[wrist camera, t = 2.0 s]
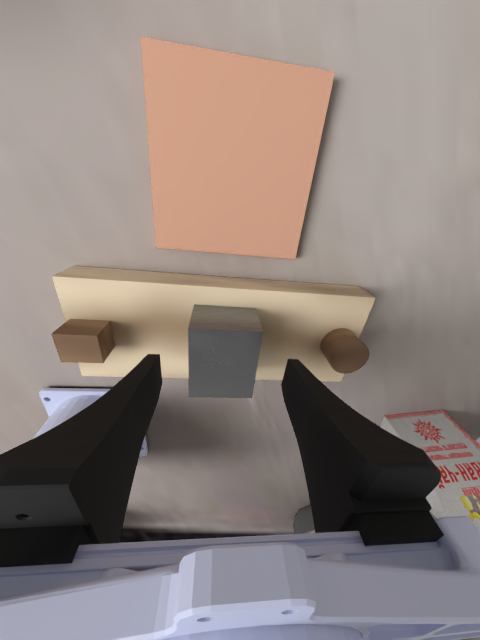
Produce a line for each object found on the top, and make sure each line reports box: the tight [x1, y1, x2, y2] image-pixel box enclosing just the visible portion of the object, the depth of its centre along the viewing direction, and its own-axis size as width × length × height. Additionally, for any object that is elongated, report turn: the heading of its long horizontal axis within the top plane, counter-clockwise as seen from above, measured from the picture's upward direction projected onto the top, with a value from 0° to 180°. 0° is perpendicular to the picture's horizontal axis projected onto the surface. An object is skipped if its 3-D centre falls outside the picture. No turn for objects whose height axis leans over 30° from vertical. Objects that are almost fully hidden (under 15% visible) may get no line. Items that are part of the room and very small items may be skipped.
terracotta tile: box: [141, 37, 335, 259], centre depth 13 cm, size 9×9×1 cm
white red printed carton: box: [380, 410, 480, 531], centre depth 22 cm, size 4×7×10 cm, turn 93°
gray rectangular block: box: [188, 304, 263, 398], centre depth 15 cm, size 5×4×3 cm
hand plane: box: [52, 266, 375, 382], centre depth 16 cm, size 8×20×4 cm, turn 84°
